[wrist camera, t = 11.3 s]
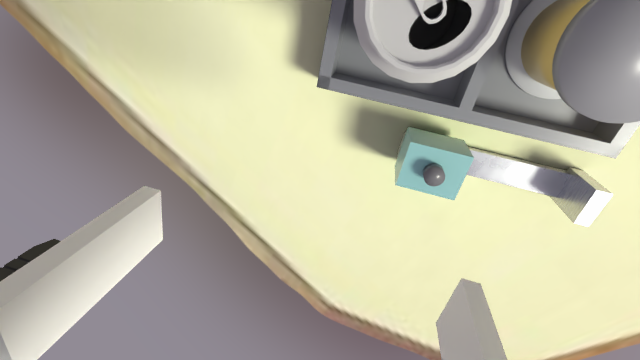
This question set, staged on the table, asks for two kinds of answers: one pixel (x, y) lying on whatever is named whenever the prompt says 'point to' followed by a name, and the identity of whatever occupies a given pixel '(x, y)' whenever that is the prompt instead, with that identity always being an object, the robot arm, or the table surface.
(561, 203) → the latch rail
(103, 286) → the robot arm
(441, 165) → the block
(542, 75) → the tan lidded jar
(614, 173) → the table surface
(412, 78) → the can
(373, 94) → the housing
